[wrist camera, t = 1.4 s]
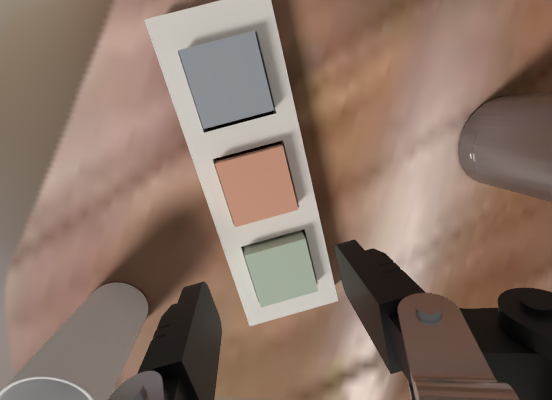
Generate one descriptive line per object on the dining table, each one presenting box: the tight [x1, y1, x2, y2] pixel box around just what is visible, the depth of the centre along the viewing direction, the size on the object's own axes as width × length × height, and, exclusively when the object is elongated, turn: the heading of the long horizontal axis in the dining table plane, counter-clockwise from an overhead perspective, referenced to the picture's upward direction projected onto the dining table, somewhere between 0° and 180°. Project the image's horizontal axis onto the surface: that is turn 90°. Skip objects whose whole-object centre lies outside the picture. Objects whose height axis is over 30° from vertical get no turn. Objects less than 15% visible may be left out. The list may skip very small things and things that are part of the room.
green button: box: [244, 231, 318, 307], centre depth 29 cm, size 6×6×2 cm
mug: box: [0, 282, 148, 400], centre depth 26 cm, size 10×7×12 cm, turn 111°
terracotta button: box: [215, 144, 298, 227], centre depth 26 cm, size 6×6×2 cm
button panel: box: [145, 0, 338, 326], centre depth 28 cm, size 10×30×2 cm, turn 14°
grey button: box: [178, 31, 274, 129], centre depth 23 cm, size 6×6×2 cm
